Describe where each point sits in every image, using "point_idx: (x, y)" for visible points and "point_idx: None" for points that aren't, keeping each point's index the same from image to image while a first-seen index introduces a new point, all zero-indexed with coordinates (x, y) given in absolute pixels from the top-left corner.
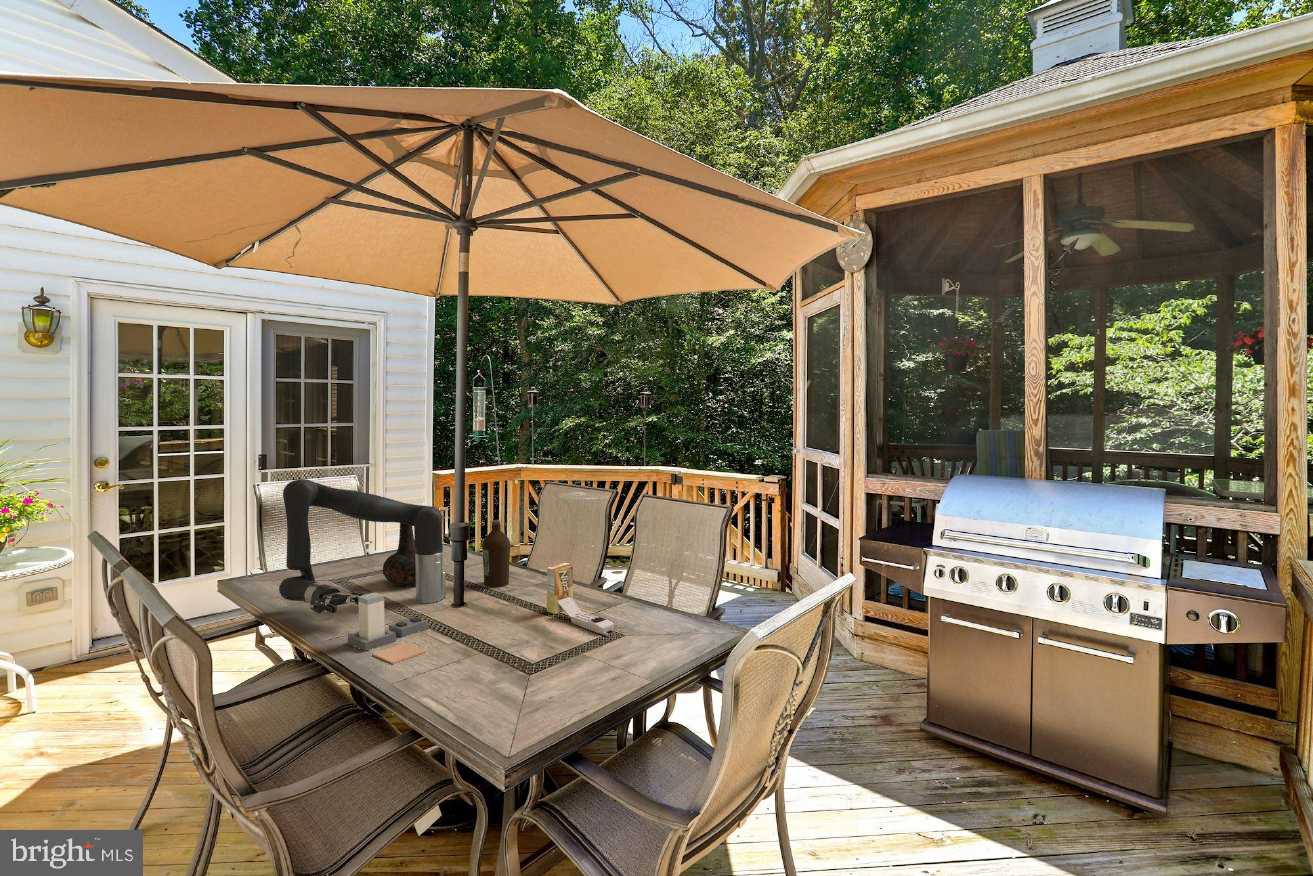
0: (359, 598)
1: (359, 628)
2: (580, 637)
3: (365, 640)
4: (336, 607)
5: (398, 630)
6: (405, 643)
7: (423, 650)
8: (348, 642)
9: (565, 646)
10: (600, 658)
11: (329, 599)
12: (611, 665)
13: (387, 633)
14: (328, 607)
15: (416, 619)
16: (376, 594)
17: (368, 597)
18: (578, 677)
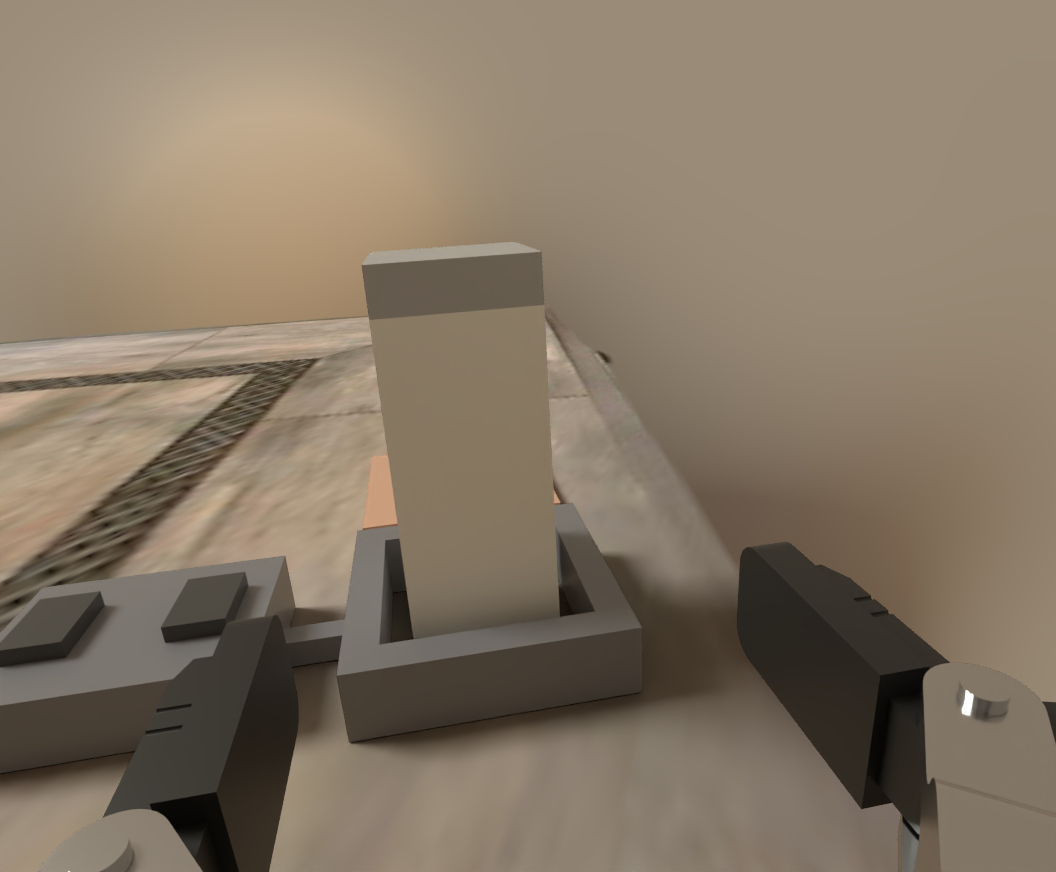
0: (538, 266)
1: (554, 543)
2: (14, 401)
3: (558, 522)
4: (741, 562)
5: (279, 595)
6: (370, 520)
7: (375, 460)
8: (638, 674)
9: (108, 389)
10: (160, 358)
11: (955, 793)
12: (190, 348)
13: (385, 560)
14: (886, 615)
15: (65, 607)
16: (391, 256)
17: (484, 247)
18: (276, 343)
